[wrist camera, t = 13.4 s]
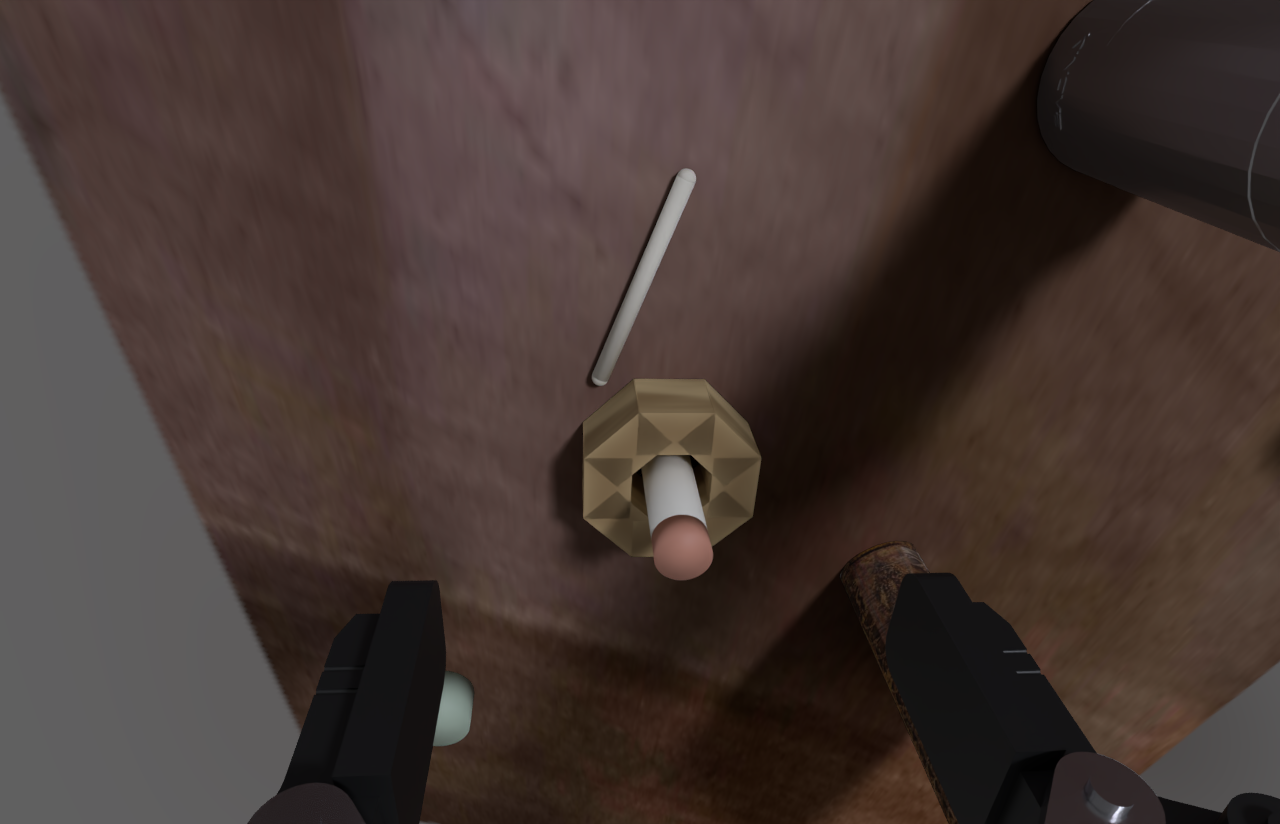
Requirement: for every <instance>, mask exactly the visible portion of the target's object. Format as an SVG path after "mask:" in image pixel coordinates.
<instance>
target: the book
mask: <svg viewBox="0 0 1280 824" xmlns="http://www.w3.org/2000/svg"><path fill="white" fill-rule="evenodd" d="M909 573H930V572H929V571H928V569H927V567H926V566H925V564H924V562H923V561H922V559H921V557H920V556H919V554H918V552H917V551H916V549H915V547H914V546H913V544H911V543H909V542H904V541H893V542H887V543H883V544H880V545H877V546H874V547H872V548H869V549H867V550H865V551H863V552H862V553H860V554H858V555H857V556H855V557H854V558H853V559H851V560H850V561H849V562H848V563H847V564H846V565H845V567H844V568H843V570H842V572H841V574H840V579H841V581H842V583H843V586H844V588H845V590H846V592H847V595H848V597H849V599H850V601H851V604H852V606H853V608H854V611H855V613H856V615H857V617H858V620H859V622H860V624H861V626H862V629H863V631H864V633H865V635H866V638H867V640H868V642H869V645H870V647H871V649H872V651H873V654H874V656H875V658H876V660H877V663H878V665H879V667H880V669H881V672H882V674H883V676H884V678H885V681H886V683H887V685H888V688H889V690H890V692H891V694H892V697H893V699H894V701H895V703H896V706H897V708H898V710H899V712H900V715H901V717H902V719H903V721H904V724H905V726H906V728H907V731H908V733H909V735H910V737H911V740H912V742H913V744H914V746H915V749H916V751H917V753H918V755H919V758H920V760H921V762H922V764H923V767H924V769H925V771H926V774H927V776H928V778H929V780H930V783H931V785H932V787H933V789H934V792H935V794H936V796H937V798H938V801H939V803H940V805H941V807H942V810H943V812H944V814H945V817H946V819H947V821H948V823H949V824H959V823H958V821H957V819H956V817H955V815H954V812H953V810H952V808H951V806H950V804H949V801H948V799H947V797H946V795H945V793H944V790H943V788H942V786H941V784H940V782H939V779H938V777H937V775H936V773H935V771H934V768H933V766H932V764H931V762H930V759H929V757H928V755H927V753H926V751H925V748H924V746H923V744H922V742H921V740H920V737H919V735H918V733H917V731H916V729H915V726H914V724H913V722H912V720H911V718H910V715H909V713H908V711H907V709H906V707H905V704H904V702H903V700H902V698H901V696H900V693H899V691H898V689H897V687H896V685H895V682H894V680H893V678H892V676H891V673H890V671H889V668H888V664H887V659H886V650H885V643H886V635H887V631H888V628H889V624H890V621H891V617H892V614H893V610H894V607H895V603H896V599H897V596H898V592H899V589H900V585H901V582H902V579H903V578H904V576H905V575H906V574H909Z"/></svg>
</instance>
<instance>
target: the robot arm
mask: <svg viewBox="0 0 1280 824" xmlns="http://www.w3.org/2000/svg"><path fill="white" fill-rule="evenodd" d="M1037 119H1038V123H1039V127H1040V131H1041V135H1042V137H1043V139H1044V141H1045V143H1046V145H1047V147H1048V149H1049V151H1050V152H1051V153H1052V154H1053V155H1054V156H1055V157H1056V158H1057V159H1058V160H1059V161H1060V162H1061V163H1063V164H1065V165H1066V166H1068V167H1070V168H1071V169H1073V170H1075V171H1078V172H1080V173H1083V174H1085V175H1088V176H1090V177H1093V178H1095V179H1098V180H1100V181H1103V182H1105V183H1108V184H1110V185H1113V186H1115V187H1117V188H1119V189H1122V190H1124V191H1127V192H1129V193H1132V194H1134V195H1137V196H1139V197H1142V198H1144V199H1147V200H1150V201H1152V202H1155V203H1157V204H1160V205H1162V206H1165V207H1167V208H1170V209H1172V210H1175V211H1177V212H1180V213H1182V214H1185V215H1187V216H1190V217H1192V218H1195V219H1197V220H1200V221H1202V222H1205V223H1207V224H1210V225H1212V226H1215V227H1217V228H1220V229H1223V230H1225V231H1228V232H1230V233H1233V234H1235V235H1238V236H1240V237H1243V238H1245V239H1248V240H1250V241H1253V242H1255V243H1258V244H1260V245H1263V246H1265V247H1268V248H1270V249H1273V250H1275V251H1278V252H1280V0H1093V1H1092V2H1091V3H1090V4H1089V5H1088V6H1087V7H1086V8H1085V9H1084V10H1082V11H1081V12H1080V13H1079V14H1078V15H1077V16H1076V17H1075V18H1074V19H1073V21H1072V22H1071V23H1070V24H1069V26H1068V27H1067V28H1066V29H1065V31H1064V32H1063V33H1062V34H1061V36H1060V38H1059V39H1058V41H1057V43H1056V45H1055V46H1054V48H1053V50H1052V52H1051V53H1050V55H1049V57H1048V60H1047V63H1046V65H1045V68H1044V71H1043V73H1042V76H1041V80H1040V85H1039V91H1038V96H1037ZM885 650H886V659H887V664H888V668H889V671H890V673H891V676H892V678H893V680H894V682H895V685H896V687H897V689H898V691H899V693H900V696H901V698H902V700H903V702H904V704H905V707H906V709H907V711H908V713H909V715H910V718H911V720H912V722H913V724H914V726H915V729H916V731H917V733H918V735H919V737H920V740H921V742H922V744H923V746H924V748H925V751H926V753H927V755H928V757H929V759H930V762H931V764H932V766H933V768H934V771H935V773H936V775H937V777H938V779H939V782H940V784H941V786H942V788H943V790H944V793H945V795H946V797H947V799H948V801H949V804H950V806H951V808H952V810H953V812H954V815H955V817H956V819H957V821H958V823H959V824H1280V799H1278V798H1275V797H1272V796H1268V795H1264V794H1259V793H1244V794H1240V795H1237V796H1236V797H1234V798H1232V800H1231V801H1230V802H1229V804H1228V805H1227V807H1226V808H1225V809H1224V811H1223V812H1222V813H1220V812H1216V811H1212V810H1208V809H1204V808H1200V807H1196V806H1192V805H1188V804H1184V803H1180V802H1176V801H1172V800H1168V799H1165V798H1162V797H1158V796H1157V795H1156V794H1155V792H1154V791H1153V790H1152V789H1151V787H1150V786H1149V785H1148V784H1147V783H1146V782H1145V781H1144V780H1143V779H1142V778H1141V777H1140V776H1139V775H1137V774H1136V773H1135V772H1134V771H1132V770H1131V769H1129V768H1128V767H1126V766H1125V765H1123V764H1121V763H1120V762H1118V761H1116V760H1114V759H1111V758H1109V757H1106V756H1104V755H1100V754H1097V753H1096V751H1095V750H1094V749H1093V747H1092V746H1091V744H1090V743H1089V741H1088V740H1087V738H1086V737H1085V735H1084V734H1083V732H1082V731H1081V729H1080V728H1079V726H1078V725H1077V723H1076V722H1075V720H1074V719H1073V717H1072V716H1071V714H1070V713H1069V711H1068V710H1067V708H1066V707H1065V705H1064V704H1063V702H1062V701H1061V699H1060V698H1059V696H1058V695H1057V694H1056V692H1055V691H1054V689H1053V688H1052V686H1051V685H1050V683H1049V682H1048V680H1047V679H1046V677H1045V676H1044V675H1041V673H1040V668H1039V667H1038V665H1037V664H1036V662H1035V661H1034V659H1033V658H1032V656H1031V655H1030V654H1027V652H1026V647H1025V646H1024V644H1023V643H1022V641H1021V640H1020V638H1019V637H1018V635H1017V634H1016V632H1015V631H1014V629H1013V628H1012V626H1011V625H1010V624H1009V623H1008V622H1007V621H1006V620H1005V619H1003V618H1002V617H1001V616H1000V615H999V614H997V613H996V612H995V611H994V610H993V609H991V608H990V607H989V606H988V605H986V604H985V603H984V602H972V601H971V599H970V598H969V596H968V595H967V593H966V592H965V590H964V588H963V587H962V585H961V584H960V582H959V581H958V579H957V578H956V577H955V576H954V575H953V574H951V573H909V574H906V575H905V576H904V578H903V579H902V582H901V585H900V589H899V592H898V596H897V599H896V603H895V607H894V610H893V614H892V617H891V621H890V624H889V628H888V631H887V635H886V643H885ZM324 667H325V669H324V672H322V675H321V677H320V680H319V683H318V686H317V689H316V695H314V697H313V700H312V703H311V706H310V709H309V711H308V714H307V717H306V720H305V723H304V726H303V728H302V731H301V734H300V737H299V740H298V742H297V745H296V748H295V751H294V754H293V757H292V759H291V762H290V765H289V768H288V771H287V774H286V776H285V779H284V782H283V784H282V786H281V788H280V790H279V792H278V793H277V795H276V796H275V797H273V798H271V799H270V800H269V801H267V802H266V803H265V804H264V805H263V806H261V808H260V809H259V810H258V811H257V812H256V813H255V814H254V815H253V817H252V818H251V819H250V821H249V822H248V824H419V821H420V816H421V810H422V804H423V799H424V793H425V787H426V782H427V776H428V771H429V765H430V759H431V754H432V748H433V742H434V737H435V731H436V726H437V720H438V714H439V709H440V703H441V698H442V692H443V686H444V679H445V668H446V646H445V636H444V627H443V618H442V609H441V600H440V591H439V585H438V582H437V581H436V580H432V581H392V582H391V583H390V584H389V586H388V589H387V592H386V596H385V599H384V603H383V606H382V609H381V613H380V614H356V615H355V616H354V617H353V618H352V619H351V620H350V622H349V623H348V624H347V625H346V626H345V627H344V628H343V629H342V630H341V632H340V633H339V634H338V635H337V636H336V637H335V638H334V641H333V644H332V646H331V649H330V652H329V655H328V658H327V661H326V663H325V666H324Z"/></svg>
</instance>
